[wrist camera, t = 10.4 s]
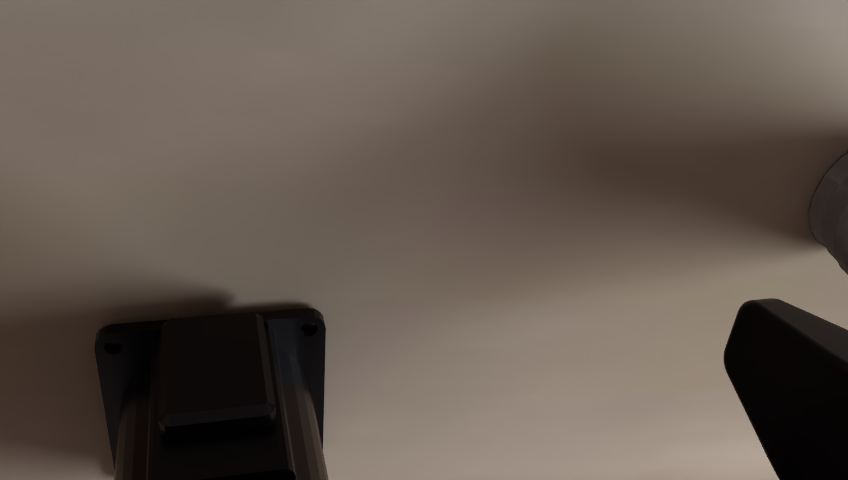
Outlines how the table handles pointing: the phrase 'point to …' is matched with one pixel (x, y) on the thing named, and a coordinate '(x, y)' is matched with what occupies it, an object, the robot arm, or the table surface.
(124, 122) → the table surface
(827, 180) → the beverage cup
